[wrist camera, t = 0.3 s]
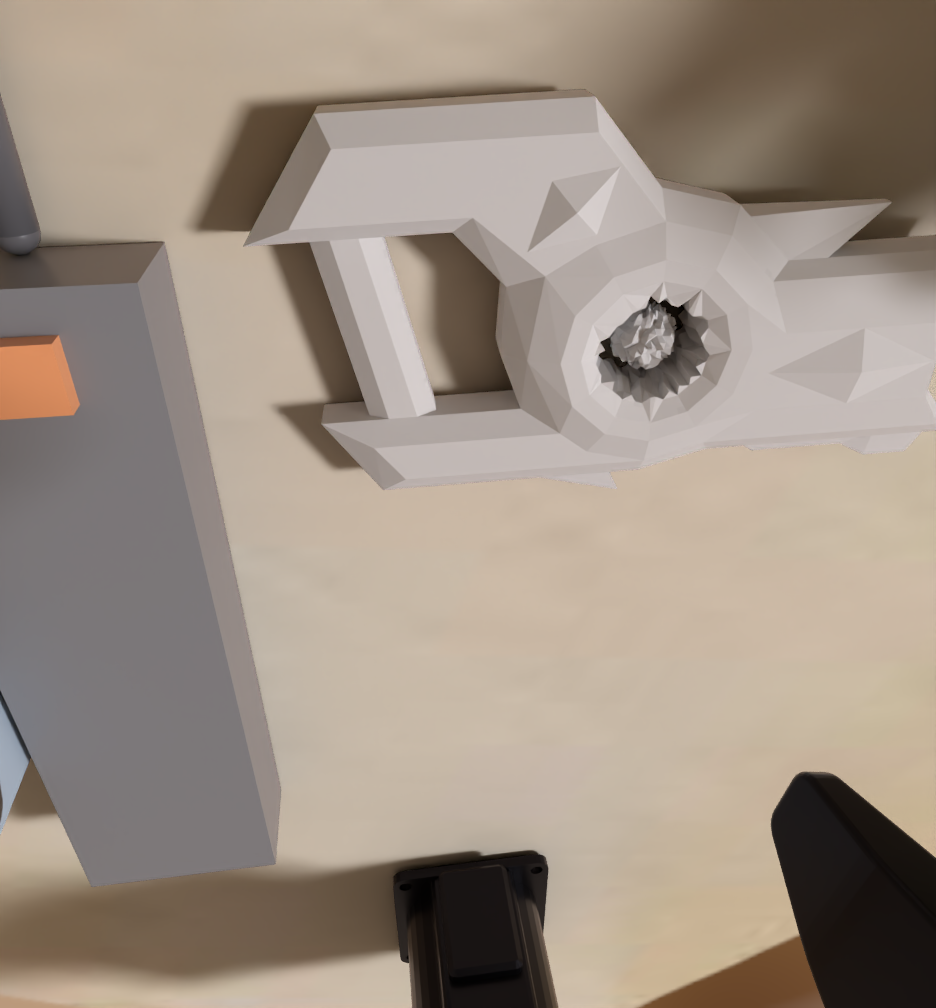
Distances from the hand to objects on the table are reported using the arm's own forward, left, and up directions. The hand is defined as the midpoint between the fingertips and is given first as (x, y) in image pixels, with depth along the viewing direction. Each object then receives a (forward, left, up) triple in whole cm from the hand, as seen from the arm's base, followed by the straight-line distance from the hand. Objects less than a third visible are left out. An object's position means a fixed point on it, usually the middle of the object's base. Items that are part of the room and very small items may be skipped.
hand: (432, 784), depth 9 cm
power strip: (-4, +8, -14) cm, 17 cm away
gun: (+1, -6, -15) cm, 16 cm away
